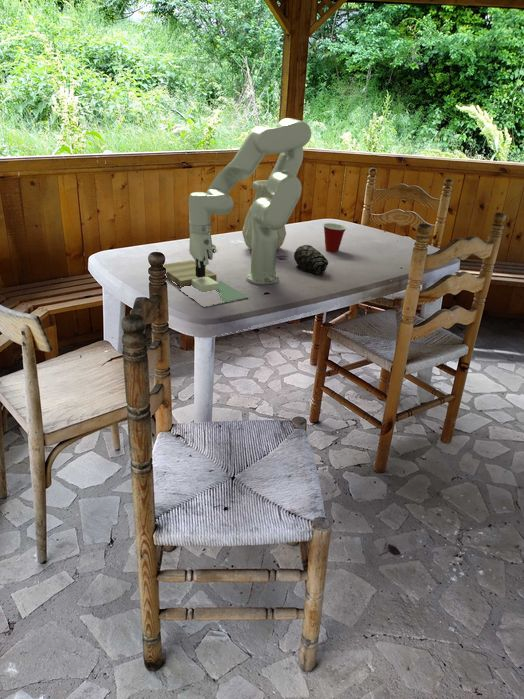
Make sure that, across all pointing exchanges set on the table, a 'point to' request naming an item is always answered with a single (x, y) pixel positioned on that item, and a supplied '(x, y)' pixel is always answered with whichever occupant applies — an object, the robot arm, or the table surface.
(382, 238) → the table surface
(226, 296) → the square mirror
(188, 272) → the wooden board
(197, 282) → the tile
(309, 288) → the table surface
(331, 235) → the plastic cup
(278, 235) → the vase
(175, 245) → the table surface
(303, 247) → the pine cone
